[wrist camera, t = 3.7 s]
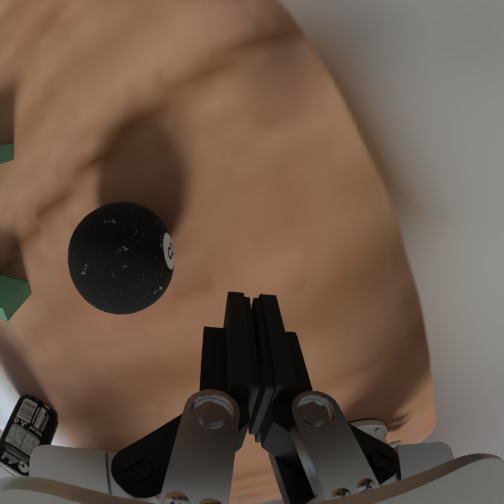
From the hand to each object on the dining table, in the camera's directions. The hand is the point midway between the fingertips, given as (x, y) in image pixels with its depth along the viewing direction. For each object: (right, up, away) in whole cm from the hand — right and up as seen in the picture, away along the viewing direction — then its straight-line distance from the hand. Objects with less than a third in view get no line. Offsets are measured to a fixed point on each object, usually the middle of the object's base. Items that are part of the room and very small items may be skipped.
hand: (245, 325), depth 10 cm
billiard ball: (-7, +4, +7) cm, 11 cm away
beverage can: (-29, -19, +16) cm, 38 cm away
